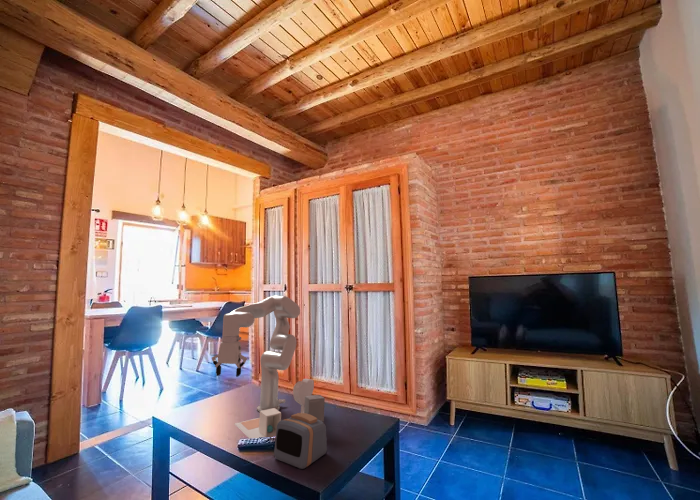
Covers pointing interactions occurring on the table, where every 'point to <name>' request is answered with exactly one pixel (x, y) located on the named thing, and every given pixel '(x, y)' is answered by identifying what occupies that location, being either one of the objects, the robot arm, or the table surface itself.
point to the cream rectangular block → (269, 420)
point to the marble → (269, 428)
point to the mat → (253, 429)
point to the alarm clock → (300, 440)
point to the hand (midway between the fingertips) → (228, 375)
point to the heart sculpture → (303, 391)
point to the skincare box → (315, 406)
